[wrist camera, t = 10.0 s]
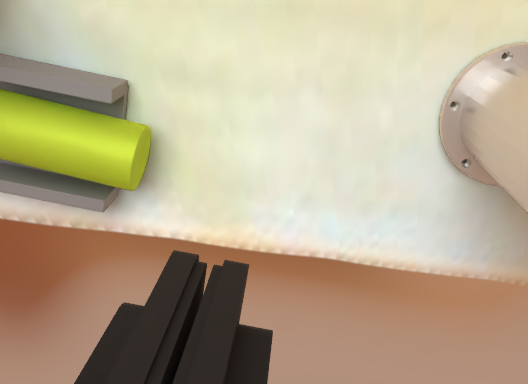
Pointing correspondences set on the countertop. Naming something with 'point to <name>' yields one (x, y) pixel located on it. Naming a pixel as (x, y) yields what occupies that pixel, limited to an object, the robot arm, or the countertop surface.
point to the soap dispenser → (72, 141)
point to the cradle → (71, 94)
